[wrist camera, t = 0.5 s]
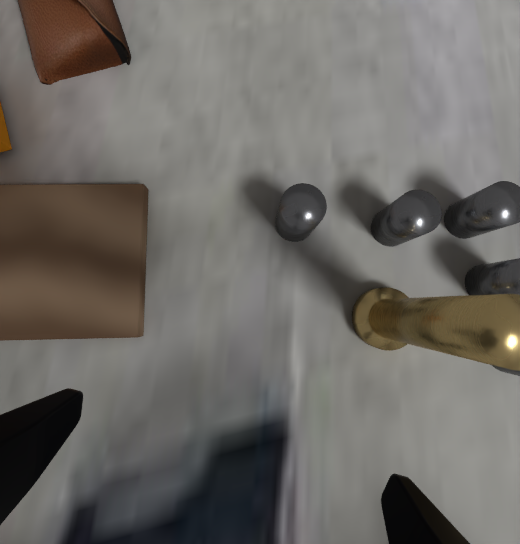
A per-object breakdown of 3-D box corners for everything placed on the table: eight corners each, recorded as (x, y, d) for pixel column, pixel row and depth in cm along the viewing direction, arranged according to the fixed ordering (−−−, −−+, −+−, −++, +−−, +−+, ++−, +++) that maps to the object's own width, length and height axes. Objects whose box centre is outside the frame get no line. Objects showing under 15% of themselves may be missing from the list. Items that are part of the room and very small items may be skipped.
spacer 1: (314, 241, 22) (327, 227, 18) (275, 241, 22) (281, 228, 18) (312, 204, 22) (325, 183, 19) (274, 204, 22) (279, 183, 18)
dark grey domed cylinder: (504, 303, 22) (560, 302, 18) (467, 303, 22) (515, 303, 18) (499, 264, 22) (553, 256, 18) (463, 265, 22) (508, 256, 18)
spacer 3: (482, 238, 23) (531, 224, 19) (446, 238, 22) (487, 224, 18) (478, 202, 23) (525, 181, 19) (442, 202, 23) (482, 181, 19)
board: (143, 335, 21) (137, 337, 20) (-15, 339, 20) (-29, 341, 19) (148, 189, 22) (143, 184, 21) (0, 190, 22) (-11, 184, 21)
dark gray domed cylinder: (409, 246, 22) (443, 233, 18) (372, 246, 22) (398, 234, 18) (406, 209, 23) (439, 189, 19) (369, 209, 23) (394, 189, 19)
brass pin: (412, 347, 21) (582, 392, 10) (353, 349, 21) (462, 396, 10) (407, 287, 22) (563, 270, 11) (350, 288, 22) (449, 272, 11)
